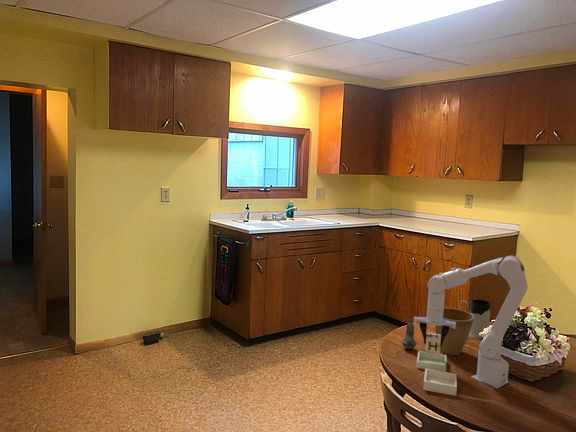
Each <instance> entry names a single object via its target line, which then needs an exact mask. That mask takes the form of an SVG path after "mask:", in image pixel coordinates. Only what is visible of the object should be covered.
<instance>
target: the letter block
mask: <svg viewBox="0 0 576 432" xmlns="http://www.w3.org/2000/svg"><path fill="white" fill-rule="evenodd" d="M440 342H441V335H440V334H436V333H433V332H426V344H425V349H424V350H425V351H424V352H425V353H428V354H434V355H440V354H441V351H440Z"/></svg>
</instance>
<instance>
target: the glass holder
mask: <svg viewBox="0 0 576 432" xmlns="http://www.w3.org/2000/svg"><path fill="white" fill-rule="evenodd" d="M462 302H465V303H466V306H467V312H468V313H470V314H472V315H473V317H474V318H473V322H472V326H471V330H470V333H469V336H470V337H472V338H476V339H479V340H480V339H482V337H481V336H479V333H480V332H482V331H483V329H484V328H487V327H488V326H490V317H491V302H490V301H488V300H485V299H472V300H471V307H470V305H469V303H468V302H467V300H463V299H462V300H460V302H459V303H458V310H461V303H462ZM470 308H471V309H470ZM469 336H468V337H469ZM482 340H483V339H482Z"/></svg>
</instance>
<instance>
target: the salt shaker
mask: <svg viewBox="0 0 576 432" xmlns="http://www.w3.org/2000/svg"><path fill="white" fill-rule="evenodd" d="M414 334H416V333H415V324H414V323H412V320H411V321H409V322H408V323H407V324H406V329H405V338H403V339H402V340H401V344H402V346H403V347H404V348H405V349H406V350H408V351H411V350H413V349H414V348H416V346H417V344H418V341H416V340H415V338H414V337H415V335H414Z"/></svg>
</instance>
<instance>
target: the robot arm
mask: <svg viewBox="0 0 576 432" xmlns="http://www.w3.org/2000/svg"><path fill="white" fill-rule="evenodd" d="M485 274H493V275H496V276H498V275H499V274H500V276H502V278H503V279H504V280H505V281H506V282H507V284H508V286H509V288H510V290H509V292H508V294H507V296H506V298H505V300H504V302H503V304H502V305H501V308H500V310H499V312H498V313H497V316H496V318H495V320H494V322H493V323H492V326H491V328H490V329H489V330H488V333H487V334H485V335H484V337H483V339H482V340H481V342H480V343H479V345H478V357H477V365H476V374H474V375H471V378H472V379H474V380H475V379H476V380H477V381H479V382H483V383H485V384H486V385H489V386H491V387H492V388H494V389H499V388H501V387H503V386H505V385H507V384H509V380H508V378H509V369H510V368H509V367H510V365H509V362H508V360H505V359H504V358H503V357H502V354H501V352H500V349H501V347H502V345H503V339H504V336H505V334H506V332H507V330H508V328H509V326H510V325H511V322H512V320H513V319H514V316H515V315H516V313H517V310H518V309H519V307H520V305H521V303H522V301H523V299H524V297H525V295H526V294H527V291H528V287H529V286H528V280H527V275H526V268H525V266H524V264H523V263H522V261H521V260H520V258H519V257H518V256H516V255H508V256H505V257H498V258H495V259H491V260H488V261H485V262H483V263H479V264H478V265H477V264H476V265H475V266H472V267H469V268H467V269H463V268H460V267H459V268H456V267H452V268H451V270H449V271H446V272H439V273H438V274H436V275H433V276H432V277H431V278H430V279H428V282H427V286H426V287H427V289H428V295H427V304H426V306H427V307H426V316H414V317H413V324H419V329H420V331H421V334H422V338H423V344H424V345H426V335H427V327H428V325H429V326H435V325H436V326H442V333H441V342H440V346H442V344H443V341H444V338H445V336H446V335H447V333H448V332H449V327H451V328H453V329H455V328H456V322H453V321H448V320H444V319H443V313H444V308H445V300H446V299H445V298H446V297H445V293H446V291H445V290H449V289H452V288H456V287H458V286H462V285H465V284H466V283H467V281H468V279H471V278H476V277H478V276H482V275H485Z"/></svg>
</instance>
